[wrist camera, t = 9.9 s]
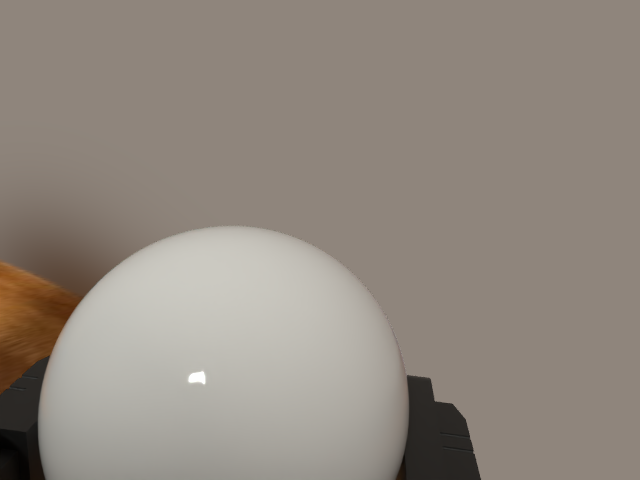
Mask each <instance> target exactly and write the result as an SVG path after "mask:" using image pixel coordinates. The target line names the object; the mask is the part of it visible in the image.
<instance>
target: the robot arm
mask: <svg viewBox="0 0 640 480" xmlns="http://www.w3.org/2000/svg"><path fill="white" fill-rule="evenodd" d="M49 358H50V356H48V357H46V358H44V359H42V360H40V361H37V362H36V363H35V364H34V365H33V366H32V367H31V368H30V369H28V370H27V371H26V372H25V373H24V374H23V375H22V378H18V379H17V380H16V381H15V382H14V383H13V384H12V385H11V386H10V388H9V389H6V390H5V391H4V392H3V393H2V394H1V395H0V480H45V477H44V473H43V469H42V464H41V459H40V453H39V445H38V407H39V399H40V392H41V387H42V382H43V378H44V374H45V371H46V367H47V364H48V361H49ZM407 381H408V390H409V428H408V436H407V442H406V448H405V453H404V457H403V460H402V464H401V468H400V471H399V474H398V477H397V479H396V480H481V478H480V474H479V471H478V466H477V463H476V458H475V454H473V447H472V442H471V440H470V435H469V431H468V427H467V423H466V419H465V418H464V417H463V416H462V415H461V413H460V412H459V411H458V410H457V409H456V407H455V406H454V405H453V404H450V403H442V402H435V401H434V395H433V389H432V384H431V379H430V378H425V377H417V376H409V375H407Z"/></svg>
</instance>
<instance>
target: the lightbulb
mask: <svg viewBox="0 0 640 480" xmlns="http://www.w3.org/2000/svg"><path fill="white" fill-rule="evenodd" d="M408 428H409V390H408V381H407V374H406V369H405V364H404V360H403V357H402V353H401V350H400V347H399V344H398V341H397V338H396V336H395V333H394V331H393V329H392V326H391V325H390V322H389V320H388V318H387V317H386V315H385V313H384V311H383V310H382V308H381V307H380V305H379V303H378V302H377V301H376V299H375V298H374V296H373V295H372V294H371V292H370V291H369V290H368V289H367V288H366V286H365V285H364V284H363V283H362V282H361V281H360V280H359V279H358V278H357V277H356V276H355V275H354V274H353V273H352V272H351V271H350V270H349V269H348V268H347V267H345V266H344V265H343V264H342V263H341V262H339V261H338V260H336V259H335V258H334V257H332V256H331V255H329V254H328V253H326V252H325V251H323V250H321V249H320V248H318V247H316V246H314V245H312V244H310V243H308V242H306V241H303V240H301V239H299V238H296V237H294V236H291V235H288V234H285V233H282V232H277V231H274V230H270V229H265V228H259V227H251V226H215V227H207V228H200V229H195V230H190V231H186V232H182V233H179V234H175V235H173V236H170V237H167V238H164V239H162V240H160V241H157V242H155V243H153V244H151V245H148V246H146V247H145V248H143V249H141V250H139V251H137V252H136V253H134V254H132V255H131V256H129V257H128V258H126V259H125V260H124V261H122V262H121V263H119V264H118V265H117V266H115V267H114V268H113V269H112V270H110V271H109V272H108V273H107V274H106V275H105V276H104V277H103V278H101V279H100V280H99V281H98V282H97V283H96V284H95V285H94V286H93V287H92V289H91V290H90V291H89V292H88V293H87V294H86V295H85V296H84V298H83V299H82V300H81V301H80V303H79V304H78V305H77V307H76V308H75V310H74V311H73V312H72V314H71V315H70V317H69V319H68V320H67V322H66V324H65V325H64V327H63V329H62V331H61V333H60V335H59V337H58V339H57V341H56V343H55V345H54V348H53V350H52V353H51V355H50V358H49V361H48V364H47V367H46V371H45V374H44V378H43V382H42V387H41V392H40V399H39V407H38V445H39V453H40V459H41V464H42V469H43V473H44V477H45V480H396V479H397V477H398V474H399V471H400V468H401V464H402V460H403V457H404V453H405V448H406V442H407V436H408Z"/></svg>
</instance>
